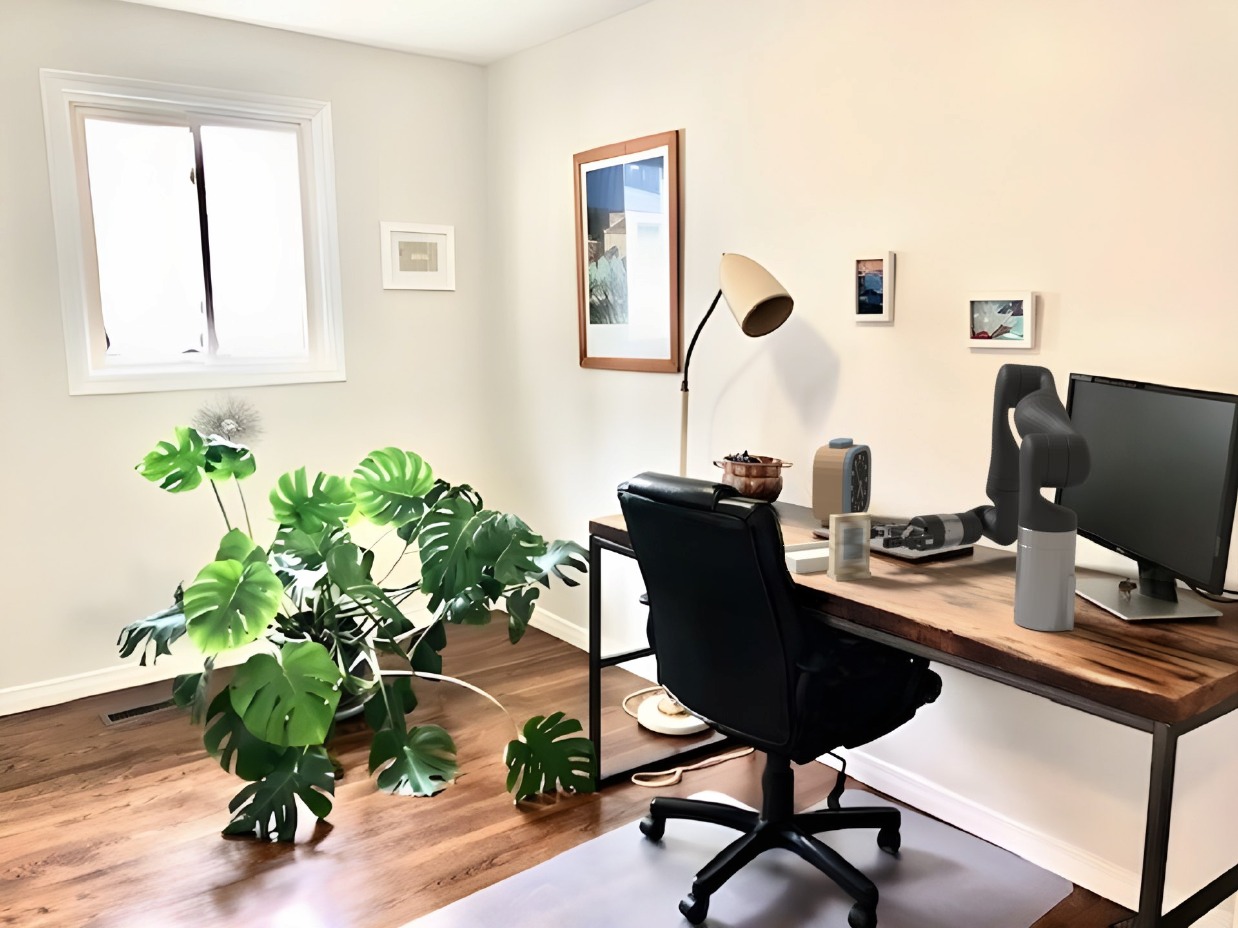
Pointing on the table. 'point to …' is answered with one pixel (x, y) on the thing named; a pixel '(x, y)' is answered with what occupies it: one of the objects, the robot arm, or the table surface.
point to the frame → (849, 546)
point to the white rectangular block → (807, 557)
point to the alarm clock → (841, 479)
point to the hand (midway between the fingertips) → (871, 539)
